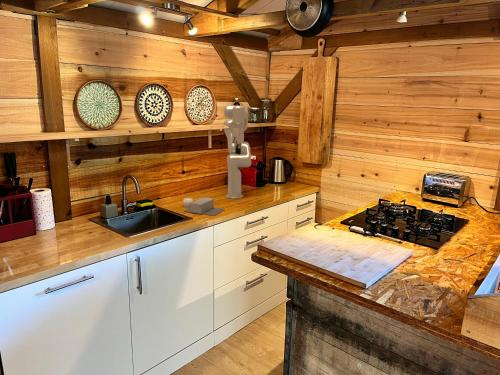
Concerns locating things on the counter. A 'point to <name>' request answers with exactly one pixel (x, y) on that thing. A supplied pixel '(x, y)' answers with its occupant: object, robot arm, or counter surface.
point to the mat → (210, 212)
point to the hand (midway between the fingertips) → (238, 154)
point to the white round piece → (187, 202)
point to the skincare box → (202, 205)
